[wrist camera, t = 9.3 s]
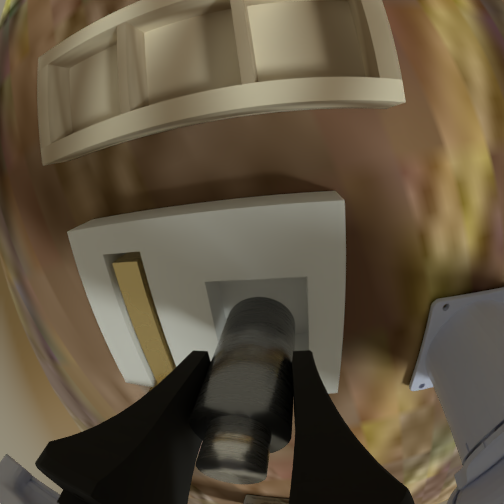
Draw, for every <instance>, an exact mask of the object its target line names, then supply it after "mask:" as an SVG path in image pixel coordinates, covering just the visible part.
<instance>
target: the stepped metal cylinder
mask: <svg viewBox="0 0 504 504" xmlns="http://www.w3.org/2000/svg"><path fill="white" fill-rule="evenodd" d="M293 351H295V320H294V317H293V315H292V313H291V312H290V310H289V309H288V308H287V307H286V306H285V305H283V304H282V303H280V302H278V301H276V300H274V299H271V298H267V297H251V298H247V299H244V300H242V301H240V302H239V303H237V304H236V305H235V306H234V307H233V308H232V309H231V311H230V313H229V315H228V318H227V321H226V323H225V326H224V329H223V331H222V334H221V336H220V339H219V342H218V344H217V347H216V350H215V352H214V355H213V358H212V360H211V363H210V366H209V368H208V371H207V374H206V376H205V379H204V381H203V384H202V387H201V389H200V392H199V395H198V397H197V400H196V403H195V405H194V408H193V411H192V413H191V416H190V419H189V423H190V426H191V429H192V430H193V432H194V433H195V434H196V435H197V436H198V437H199V438H200V439H201V440H203V442H202V445H201V449H200V452H199V455H198V458H197V461H196V467H197V468H198V470H200V471H201V472H202V473H204V474H205V475H207V476H209V477H211V478H214V479H217V480H220V481H223V482H228V483H234V484H254V483H259V482H261V481H263V480H265V479H266V477H267V469H268V462H269V454H270V453H273V452H276V451H278V450H280V449H282V448H284V447H285V446H286V445H287V444H288V443H289V441H290V439H291V433H292V416H293V394H294V393H293V374H292V357H293Z"/></svg>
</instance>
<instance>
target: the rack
mask: <svg viewBox="0 0 504 504" xmlns="http://www.w3.org/2000/svg"><path fill="white" fill-rule="evenodd" d="M405 102H406V101H405V95H404V88H403V82H402V77H401V71H400V66H399V61H398V57H397V52H396V48H395V44H394V40H393V36H392V32H391V28H390V25H389V21H388V18H387V15H386V11H385V8H384V5H383V2H382V0H141V1H139V2H136V3H134V4H131V5H129V6H127V7H125V8H122V9H120V10H118V11H116V12H114V13H112V14H110V15H108V16H106V17H104V18H102V19H100V20H98V21H96V22H94V23H92V24H91V25H89V26H87V27H85V28H83V29H82V30H80V31H78V32H77V33H75V34H73V35H72V36H70V37H68V38H67V39H65V40H64V41H62V42H61V43H59V44H58V45H56V46H55V47H53V48H52V49H50V50H49V51H47V52H46V53H45V54H43V55H42V56H40V57H39V58H38V74H37V107H38V126H39V139H40V149H41V157H42V164H43V166H45V165H49V164H55V163H60V162H65V161H70V160H73V159H76V158H78V157H81V156H84V155H87V154H89V153H92V152H95V151H98V150H101V149H104V148H107V147H110V146H113V145H117V144H120V143H123V142H126V141H130V140H133V139H137V138H140V137H144V136H148V135H152V134H155V133H159V132H163V131H168V130H172V129H176V128H181V127H185V126H190V125H195V124H200V123H205V122H210V121H216V120H222V119H228V118H234V117H241V116H248V115H256V114H264V113H273V112H283V111H295V110H310V109H334V108H376V109H388V108H390V107H393V106H396V105H399V104H402V103H405Z"/></svg>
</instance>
